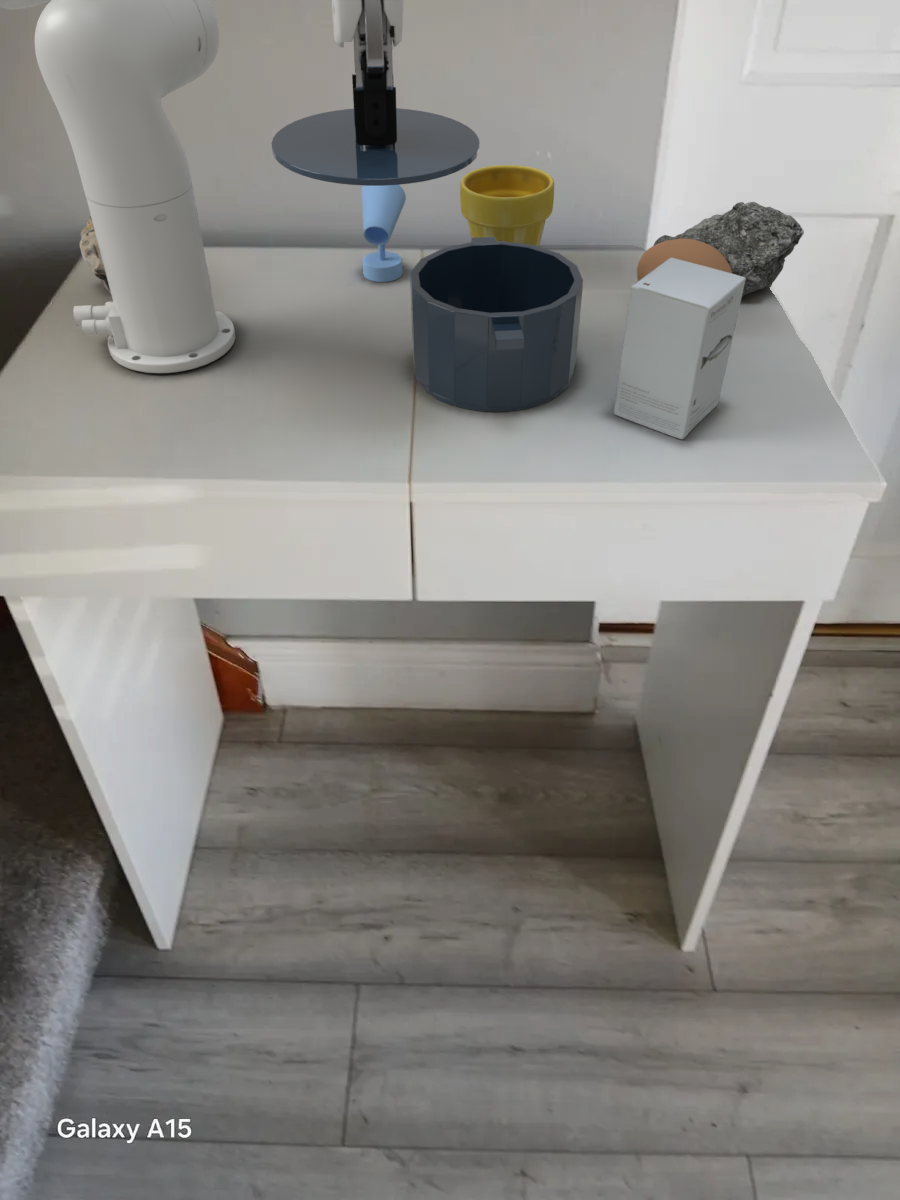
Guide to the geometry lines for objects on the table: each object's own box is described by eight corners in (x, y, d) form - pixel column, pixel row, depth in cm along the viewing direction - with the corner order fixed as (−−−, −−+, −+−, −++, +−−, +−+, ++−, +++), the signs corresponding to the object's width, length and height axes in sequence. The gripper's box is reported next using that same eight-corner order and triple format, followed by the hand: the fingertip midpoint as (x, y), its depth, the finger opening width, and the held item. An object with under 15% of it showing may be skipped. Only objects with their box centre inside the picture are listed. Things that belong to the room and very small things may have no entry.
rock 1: (137, 242, 113) (64, 210, 105) (181, 224, 109) (109, 189, 101) (140, 315, 113) (67, 289, 104) (184, 299, 109) (112, 271, 100)
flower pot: (446, 256, 114) (446, 170, 107) (526, 242, 116) (531, 158, 110) (480, 292, 107) (481, 203, 100) (564, 277, 109) (571, 189, 103)
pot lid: (269, 196, 71) (258, 100, 66) (276, 122, 83) (267, 36, 78) (491, 191, 72) (496, 96, 68) (467, 119, 84) (469, 34, 80)
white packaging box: (683, 442, 85) (709, 308, 76) (610, 415, 88) (627, 283, 80) (720, 406, 89) (749, 276, 81) (649, 381, 93) (669, 253, 84)
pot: (420, 432, 86) (417, 335, 80) (408, 322, 102) (405, 233, 95) (592, 423, 87) (603, 327, 81) (554, 315, 103) (561, 227, 96)
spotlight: (367, 258, 113) (356, 283, 108) (362, 170, 106) (350, 193, 101) (409, 260, 113) (400, 285, 108) (406, 171, 106) (396, 195, 101)
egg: (757, 248, 98) (668, 222, 104) (716, 260, 93) (626, 232, 99) (738, 321, 102) (654, 292, 108) (699, 336, 98) (613, 305, 104)
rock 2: (635, 257, 107) (663, 270, 116) (720, 329, 104) (742, 337, 112) (715, 152, 101) (738, 175, 110) (807, 226, 98) (823, 243, 107)
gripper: (308, -170, 70) (327, 105, 82) (306, -140, 58) (329, 175, 71) (412, -169, 70) (415, 103, 83) (431, -140, 58) (431, 172, 71)
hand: (375, 134), depth 77 cm, fingers closed on pot lid, 2 cm apart
